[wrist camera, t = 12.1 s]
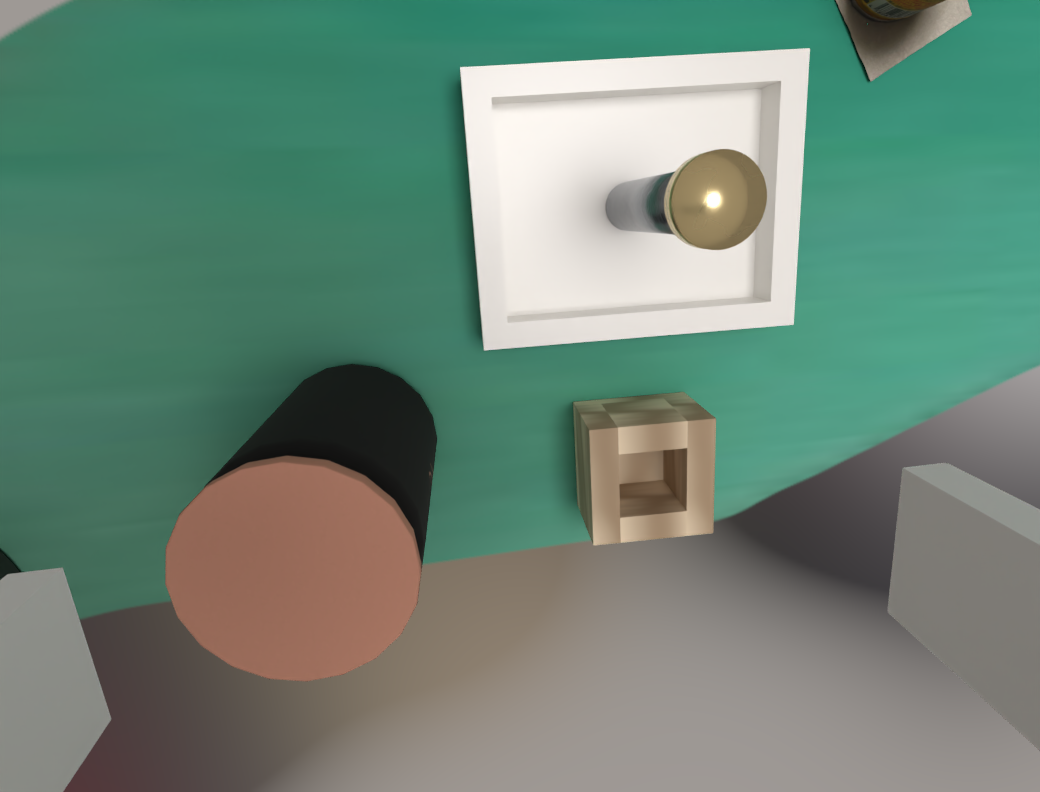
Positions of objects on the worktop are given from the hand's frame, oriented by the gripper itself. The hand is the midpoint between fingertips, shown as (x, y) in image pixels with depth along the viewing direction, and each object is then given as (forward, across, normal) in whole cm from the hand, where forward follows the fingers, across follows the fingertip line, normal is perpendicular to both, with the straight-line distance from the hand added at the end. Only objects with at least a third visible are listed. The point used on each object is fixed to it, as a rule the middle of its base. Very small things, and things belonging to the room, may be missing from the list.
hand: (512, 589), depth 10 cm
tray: (+33, +11, +5) cm, 35 cm away
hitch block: (+33, +11, -12) cm, 37 cm away
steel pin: (+32, +11, +5) cm, 34 cm away
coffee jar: (+34, -8, -8) cm, 36 cm away
